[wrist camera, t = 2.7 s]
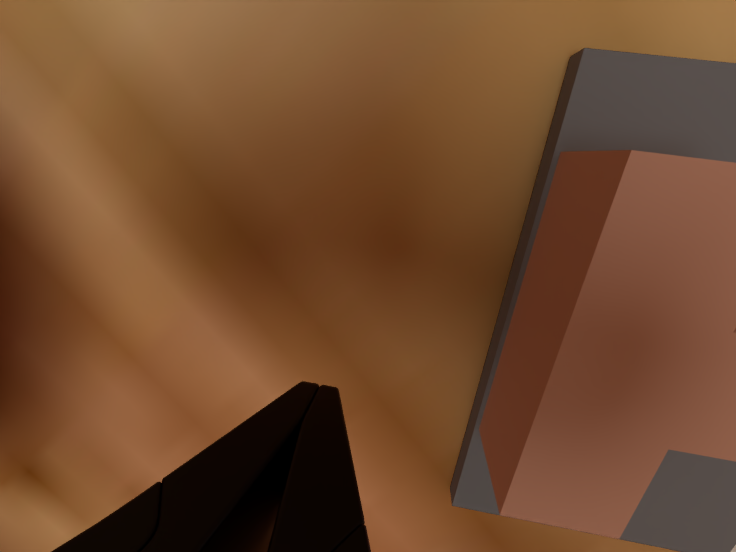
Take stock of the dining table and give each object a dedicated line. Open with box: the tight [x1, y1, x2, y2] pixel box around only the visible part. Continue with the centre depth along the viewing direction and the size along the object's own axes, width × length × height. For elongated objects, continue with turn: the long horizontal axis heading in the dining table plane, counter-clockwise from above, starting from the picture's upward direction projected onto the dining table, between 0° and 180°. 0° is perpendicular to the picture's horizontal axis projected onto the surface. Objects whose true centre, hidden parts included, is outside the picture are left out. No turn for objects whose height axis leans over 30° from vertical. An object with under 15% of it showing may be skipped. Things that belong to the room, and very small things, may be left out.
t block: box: [479, 150, 736, 539], centre depth 11 cm, size 12×12×4 cm
